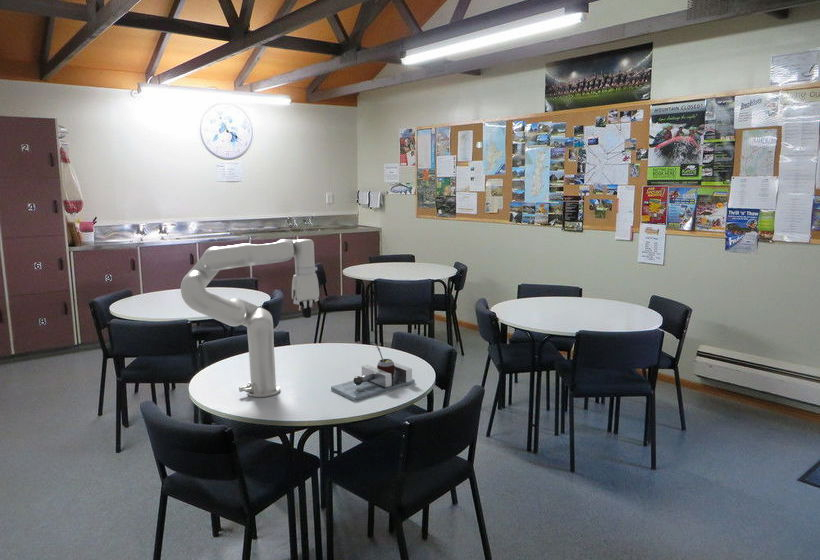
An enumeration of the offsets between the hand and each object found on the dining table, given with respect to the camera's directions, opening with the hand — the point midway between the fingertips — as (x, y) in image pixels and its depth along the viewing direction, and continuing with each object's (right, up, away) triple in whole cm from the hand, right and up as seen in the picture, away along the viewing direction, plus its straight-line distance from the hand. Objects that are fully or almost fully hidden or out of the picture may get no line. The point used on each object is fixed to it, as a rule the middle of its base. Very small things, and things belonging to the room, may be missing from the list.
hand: (306, 317), depth 227 cm
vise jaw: (+23, -27, +3) cm, 36 cm away
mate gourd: (+30, -26, +10) cm, 41 cm away
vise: (+26, -28, +5) cm, 39 cm away
